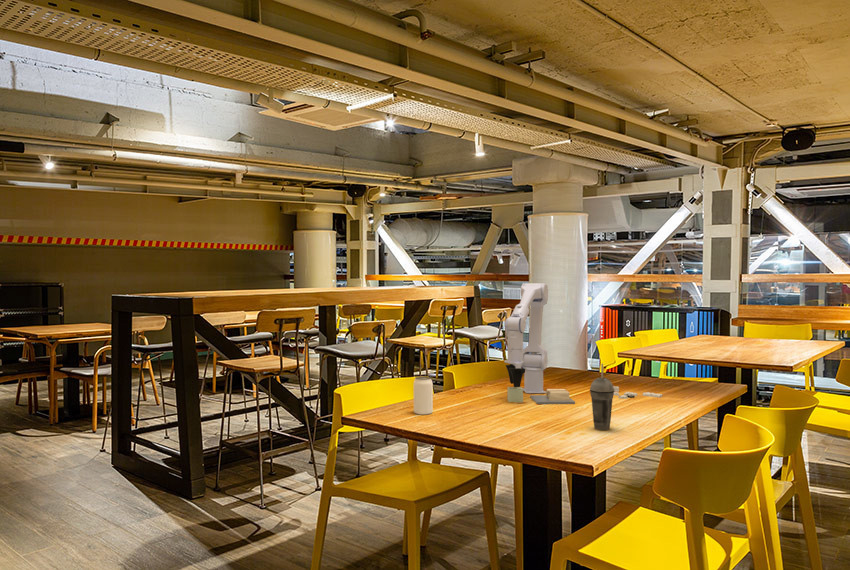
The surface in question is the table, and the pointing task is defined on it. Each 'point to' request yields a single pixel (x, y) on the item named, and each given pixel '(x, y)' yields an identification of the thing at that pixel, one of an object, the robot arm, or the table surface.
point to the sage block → (515, 394)
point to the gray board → (544, 400)
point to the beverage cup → (602, 402)
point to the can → (423, 395)
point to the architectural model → (633, 394)
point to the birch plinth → (557, 394)
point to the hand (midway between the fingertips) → (515, 385)
